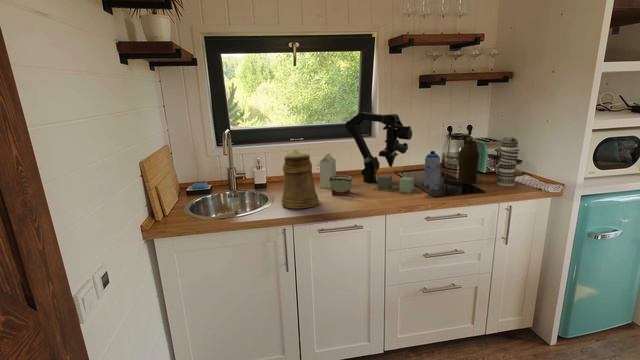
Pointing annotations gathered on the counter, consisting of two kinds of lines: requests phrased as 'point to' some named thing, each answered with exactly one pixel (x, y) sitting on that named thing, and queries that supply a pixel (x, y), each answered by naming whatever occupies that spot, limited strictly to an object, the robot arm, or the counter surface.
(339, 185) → the food container
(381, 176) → the gray block
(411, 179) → the sage cap
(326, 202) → the counter surface
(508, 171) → the decorative candle
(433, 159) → the aerosol can
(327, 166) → the milk carton
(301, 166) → the tankard
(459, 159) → the olive oil
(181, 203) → the counter surface
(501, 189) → the counter surface
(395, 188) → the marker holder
